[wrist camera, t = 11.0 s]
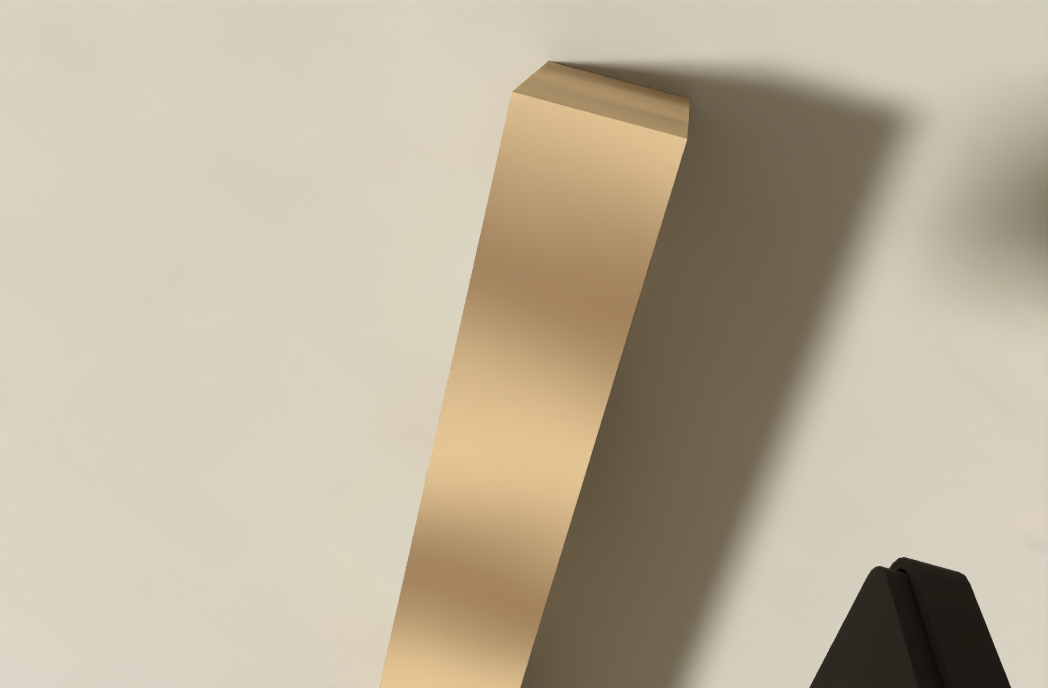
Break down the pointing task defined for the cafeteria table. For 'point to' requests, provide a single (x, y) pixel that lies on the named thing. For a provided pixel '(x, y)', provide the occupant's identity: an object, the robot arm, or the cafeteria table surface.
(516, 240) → the plank
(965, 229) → the cafeteria table surface
